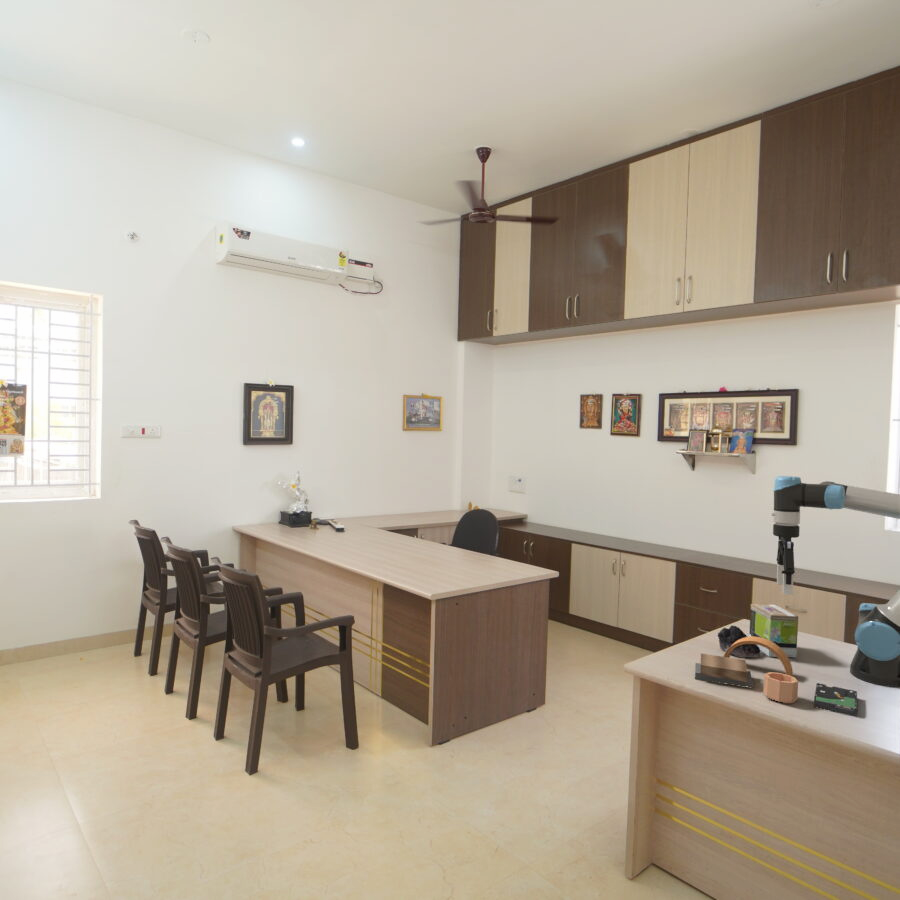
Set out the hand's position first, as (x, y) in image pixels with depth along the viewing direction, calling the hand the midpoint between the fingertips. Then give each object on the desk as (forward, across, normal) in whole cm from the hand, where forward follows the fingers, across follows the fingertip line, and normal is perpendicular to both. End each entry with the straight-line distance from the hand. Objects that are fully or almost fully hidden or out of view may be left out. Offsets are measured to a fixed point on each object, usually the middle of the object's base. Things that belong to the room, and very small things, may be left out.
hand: (784, 589), depth 203 cm
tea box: (+26, -20, -1) cm, 33 cm away
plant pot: (+26, +25, -4) cm, 37 cm away
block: (+26, +16, -19) cm, 36 cm away
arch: (+27, +3, -8) cm, 28 cm away
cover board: (+24, +16, -19) cm, 34 cm away
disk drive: (+27, +22, +11) cm, 37 cm away
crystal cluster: (+26, -13, -12) cm, 32 cm away
